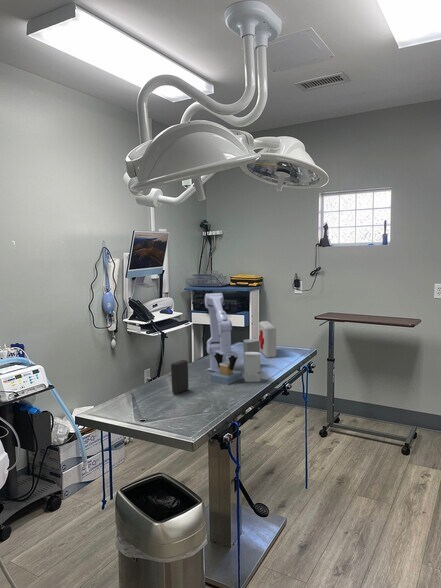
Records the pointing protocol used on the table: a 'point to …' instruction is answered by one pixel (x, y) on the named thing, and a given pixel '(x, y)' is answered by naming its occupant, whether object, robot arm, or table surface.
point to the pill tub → (225, 368)
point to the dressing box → (226, 377)
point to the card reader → (179, 376)
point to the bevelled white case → (267, 339)
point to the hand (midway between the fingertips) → (226, 368)
